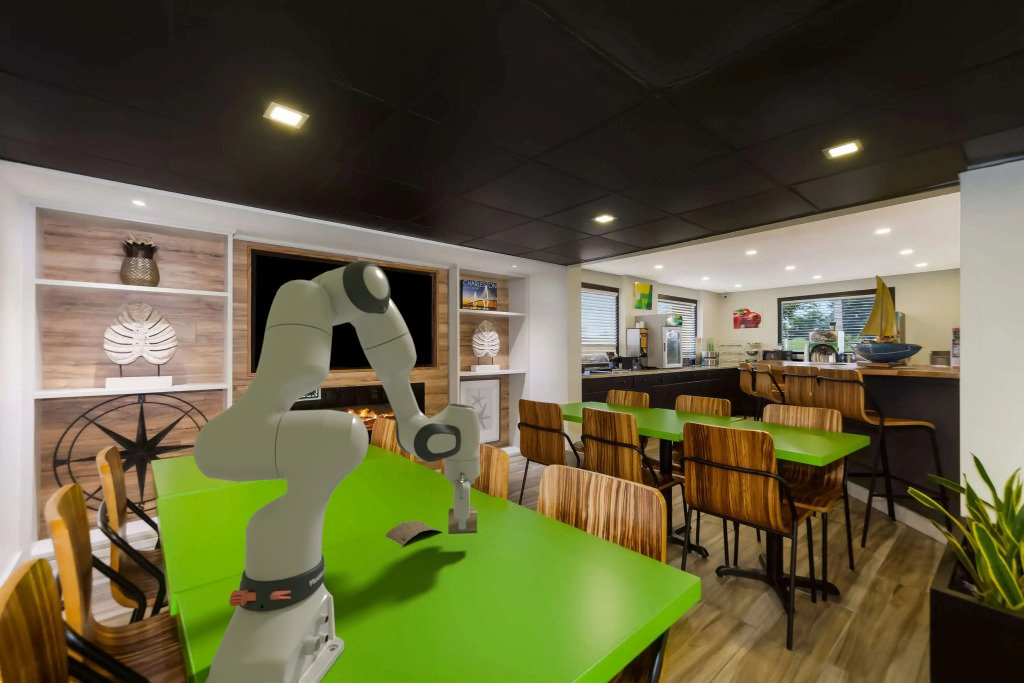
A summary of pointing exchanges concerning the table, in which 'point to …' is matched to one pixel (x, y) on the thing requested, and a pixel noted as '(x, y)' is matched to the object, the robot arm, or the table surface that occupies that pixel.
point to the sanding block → (470, 523)
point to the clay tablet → (407, 531)
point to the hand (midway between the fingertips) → (462, 524)
